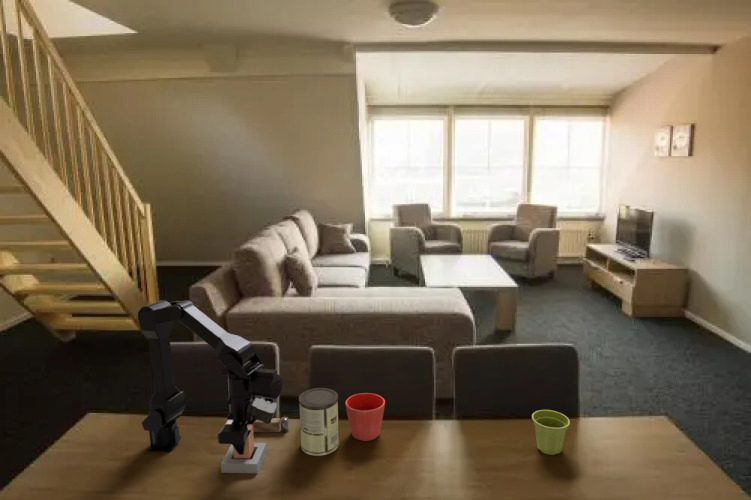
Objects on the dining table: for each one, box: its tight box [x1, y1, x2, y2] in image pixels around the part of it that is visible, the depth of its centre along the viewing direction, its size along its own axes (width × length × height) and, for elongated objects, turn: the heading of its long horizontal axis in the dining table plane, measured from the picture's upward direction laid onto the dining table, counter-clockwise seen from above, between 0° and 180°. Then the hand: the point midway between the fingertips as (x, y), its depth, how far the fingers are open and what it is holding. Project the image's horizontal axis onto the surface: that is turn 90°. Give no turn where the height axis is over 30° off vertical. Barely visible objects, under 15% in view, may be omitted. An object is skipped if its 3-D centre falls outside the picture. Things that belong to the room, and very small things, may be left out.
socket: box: [220, 442, 268, 474], centre depth 124 cm, size 9×9×2 cm
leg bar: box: [253, 417, 281, 433], centre depth 139 cm, size 11×2×3 cm, turn 89°
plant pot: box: [531, 409, 571, 456], centre depth 129 cm, size 9×9×9 cm
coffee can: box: [298, 387, 340, 457], centre depth 130 cm, size 10×10×14 cm
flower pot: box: [344, 392, 386, 442], centre depth 136 cm, size 11×11×10 cm
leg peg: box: [233, 424, 255, 459], centre depth 123 cm, size 4×4×7 cm
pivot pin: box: [280, 416, 290, 433], centre depth 138 cm, size 2×2×4 cm
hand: (243, 449), depth 124 cm, fingers closed on leg peg, 4 cm apart
